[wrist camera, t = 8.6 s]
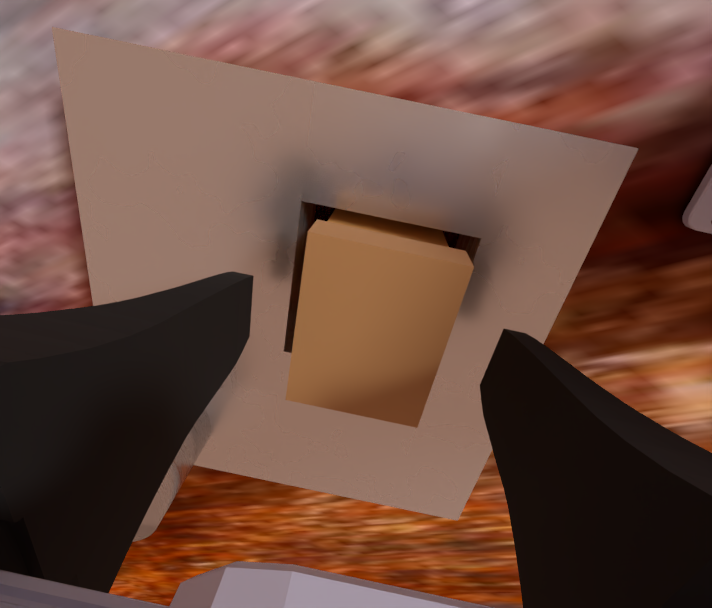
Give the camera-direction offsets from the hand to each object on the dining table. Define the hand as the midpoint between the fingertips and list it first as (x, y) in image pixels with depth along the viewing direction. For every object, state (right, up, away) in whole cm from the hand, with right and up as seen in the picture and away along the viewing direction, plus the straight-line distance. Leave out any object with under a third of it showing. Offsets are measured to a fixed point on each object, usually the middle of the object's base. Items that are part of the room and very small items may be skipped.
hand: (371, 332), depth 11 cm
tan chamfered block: (0, +2, +5) cm, 5 cm away
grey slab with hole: (-2, +1, +6) cm, 6 cm away
